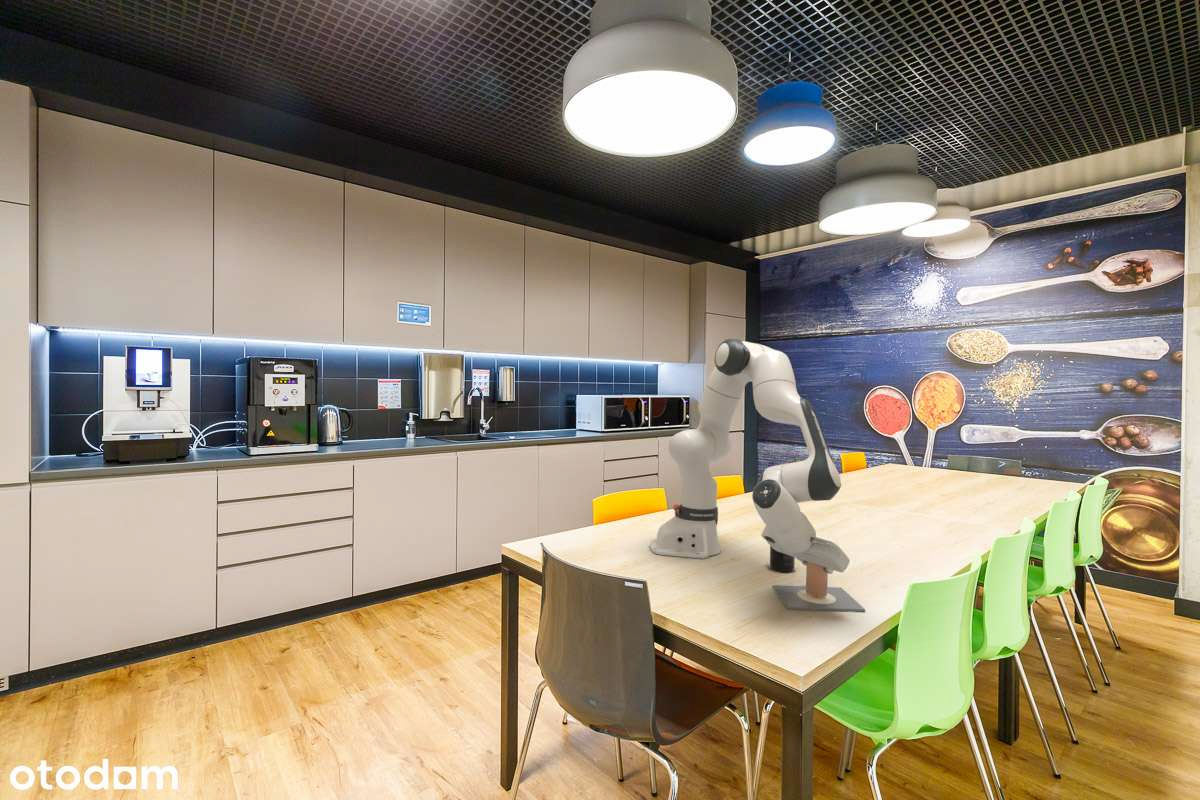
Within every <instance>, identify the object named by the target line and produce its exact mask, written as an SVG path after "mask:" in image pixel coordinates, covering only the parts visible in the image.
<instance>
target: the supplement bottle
mask: <svg viewBox="0 0 1200 800" xmlns="http://www.w3.org/2000/svg"><path fill="white" fill-rule="evenodd" d="M795 559H796V558H795V557H793V556H790V555H787V554H784V553H781V552H778V551H776V550H774V549H773V548H772V547H771V546H770V545H769V568H770V569H771V570H772V571H775V572H779V573H792V572H794V571H795Z"/></svg>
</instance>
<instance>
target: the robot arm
mask: <svg viewBox="0 0 1200 800" xmlns="http://www.w3.org/2000/svg"><path fill="white" fill-rule="evenodd" d="M714 365H715V366H714V368H713V370H712V371H711V374H710V376H709V378H708V380H707V382H706V384H705V385H706V386H705V387H704V390H703V392H702V395H701V398H700V400H699V402H698V404H697V405H698V406H697V408H698V413H699V414H700V415H699V416H700V417H699V424H698V426H697V428H691V429H688V428H687V429H684V430H681V431H679V432H677V433H675V434H674V435H672V437H671V438H670V440H669V443H668V451H669V455H670V457H671V459H673V460H674V461H675V462H676V464H677V467H678V470H679V474H680V479H681V503H680V504H678V503H674V504H673V505H672V509H673V511H674V516H673V517H672V518H670V519H669V520H667V521H666V522H664V523H663V524H661V525H660V526H659V528H658V530H657V532H656V538H655V539H652V540H651V541H650V542H649V549H650V551H651V552H652V553H653V554H656V555H661V556H671V557H682V558H692V559H693V558H694V559H703V560H704V559H707V558H708V557H710V556H715V555H718V554H720V553H721V547H720V544H719V542H720V541H719V538H718V537H719V536H718V527H717V525H718V522H719V507H718V506H717V504H718V503H717V502H718V500H717V499H718V498H717V497H718V482H717V481H716V479H715V478H714V477H713V475H712V472H711V468H710V467H711V466H710V462H715V461H718V460H720V459H722V458H724V457H725V456H727V455H728V454H730V451H731V448H732V441H731V437H730V429H731V424H732V419H733V417H734V415H735V412H736V409H737V407H738V405H739V402H740V400H741V397H742V395H743V392H744V389H745V387H746V385H747V384H748V383H750V382H751V383H752V395H753V396H752V397H753V403H754V406H755V409H756V411H757V412H758V413H759V415H761V417H763V418H764V419H767V420H768V421H771V422H774V423H778V424H784V425H785V424H787V425H792V426H793V425H794V426H797V427H799V428H800V431H801V432H802V435H803V439H804V441H805V442H804V443H805V444H806V448H807V451H808V454H809V455H808V457H807V458H806V459H805V460H800V461H795V462H789V463H782V464H778V465H777V464H776V465H772V466H769V467H765V469H764V470H763V471H762V473H761V474H760V477H759V479H758V481H757V484H756V485H755V487H754V489H753V490H752V497H751V498H752V503H753V504H754V508H755V510H756V512H757V514H758V515H759V517H760V518H761V520H762V522H763V523H764V524H765V527H764V529H763V531H762V532H761V537H762V538H763V540H765V541H766V542H767V544H768V545H769V547H770V546H771V547H772V548H773V549H774V550H776V551H778V552H781V553H784V554H787V555H790V556H793V557H795V559H796V560H797V561H800V562H801V564H802V565H803V566H806V567H807V561H808V562H811V563H814V564H817V565H820V566H823V567H824V568H823V570H824V571H825V572H826V573H828V575H829V574H830V575H833V573H834V571H836V572H839V573H844V572H845V571H846V569H847V568H848V567H849V564H850V559H849V557H848V555H847V554H846V553H845V551H843V549H842V548H841V547H840V546H839V545H838V544H836V543H835V542H833V541H830V540H827V539H823V538H820V537H817V532H816V528H814V526H813V525H812V523H811V522H810V520H809V519H808V517H807V516H806V514H805V513H803V512H802V510H801V507H800V506H799V503H805V502H817V501H818V502H819V501H821V502H822V501H831V500H832V499H833V498H835V496H836V495H837V494H838V493H839V491H840V489H841V488H842V483H841V477H840V474H839V471H838V469H837V467H836V465H835V462H834V460H833V458H832V454H831V452H830V450H829V446H828V444H827V441H826V438H825V435H824V433H823V430H822V427H821V424H820V421H819V419H818V416H817V413H816V411H815V408H814V407H813V405H812V404H811V402H810V401H809V400H808V399H806V398H802V397H801V396H800V394H799V393H798V390H797V383H796V377H795V373H794V370H793V367H792V363H791V361H790V359H789V357H788V355H787V354H786V353H784V352H782V351H780V350H778V349H776V348H775V349H774V348H771V347H769V346H768V345H767V346H766V345H763V344H761V343H758V342H757V343H755V342H749V341H745V340H740V339H738V338H727V339H725V340H723V341H722V342H721V343H720V344H719V346H717V349H716V351H715V354H714Z"/></svg>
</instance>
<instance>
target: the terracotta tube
mask: <svg viewBox="0 0 1200 800" xmlns="http://www.w3.org/2000/svg"><path fill="white" fill-rule="evenodd" d="M823 568H824V567H823V566H820V565H817V564H814V563H811V562H808V561H807V566H806V570H805V571H806V572H805V573H806V576H805V586H806V593H807V594H809V595H812V596H817V597H824V596H827V587H828V577H829V573H826V572H825V571H824V570H823Z"/></svg>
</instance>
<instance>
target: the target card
mask: <svg viewBox="0 0 1200 800" xmlns="http://www.w3.org/2000/svg"><path fill="white" fill-rule="evenodd" d="M771 588H772V589H773V591H774V592H775V593H776V594H777V596H778V597H779V599H780V600H781V601H782V602H783V604H784V605H785V606H786V607H787V609H788V610H792V611H793V610H794V611H795V610H796V611H799V610H801V611H825V612H848V611H865V612H866V608H865V607H863V606H862V605H861V603H859V602H858V601H857V600H855V598H853V597H852V595H850V594H849V593H848V592H847V591H845V589H843V587H836V586H827V596H824V597H817V596H812V595H809V594H807V593H806V585H802V586H801V585H783V584H782V585H775V584H774V585H773V584H772V586H771Z"/></svg>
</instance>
